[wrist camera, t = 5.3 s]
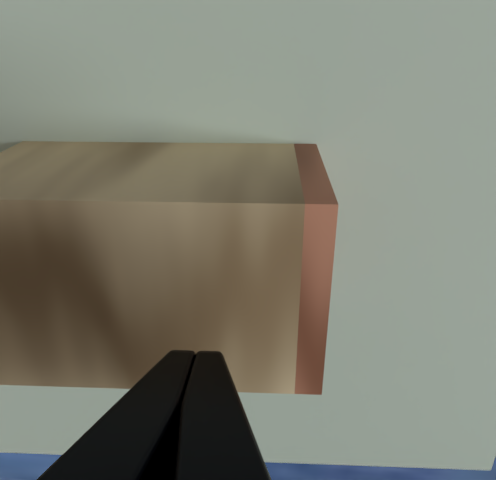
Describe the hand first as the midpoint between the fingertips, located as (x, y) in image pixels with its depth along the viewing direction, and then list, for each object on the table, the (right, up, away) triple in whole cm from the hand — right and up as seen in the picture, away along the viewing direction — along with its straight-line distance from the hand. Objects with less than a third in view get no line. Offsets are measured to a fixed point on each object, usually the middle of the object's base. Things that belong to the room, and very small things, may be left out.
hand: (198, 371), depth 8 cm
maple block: (+3, +2, +4) cm, 5 cm away
